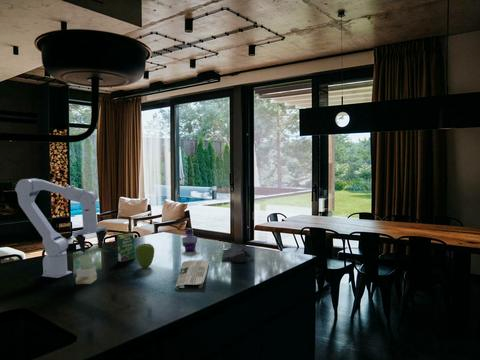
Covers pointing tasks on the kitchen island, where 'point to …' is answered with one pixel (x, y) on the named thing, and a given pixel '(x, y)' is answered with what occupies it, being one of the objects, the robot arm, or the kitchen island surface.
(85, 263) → the sage cylinder
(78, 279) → the tower base block
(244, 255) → the dark slate chunk
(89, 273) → the tower top block
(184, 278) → the newspaper
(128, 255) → the coffee box
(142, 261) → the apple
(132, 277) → the kitchen island surface
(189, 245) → the potion bottle
